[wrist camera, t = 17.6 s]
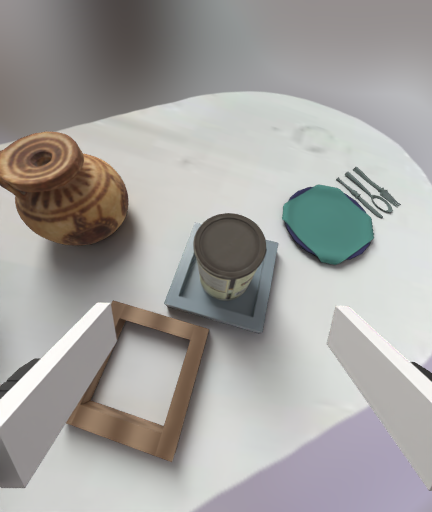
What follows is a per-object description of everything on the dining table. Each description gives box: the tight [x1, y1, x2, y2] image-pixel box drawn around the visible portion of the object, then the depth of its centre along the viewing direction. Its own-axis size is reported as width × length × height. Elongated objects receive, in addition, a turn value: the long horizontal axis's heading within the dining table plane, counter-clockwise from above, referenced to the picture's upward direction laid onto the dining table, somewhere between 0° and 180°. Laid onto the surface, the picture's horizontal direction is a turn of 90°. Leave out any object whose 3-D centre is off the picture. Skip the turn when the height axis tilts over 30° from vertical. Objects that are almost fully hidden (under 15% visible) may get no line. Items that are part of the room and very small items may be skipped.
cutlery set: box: [282, 167, 401, 265], centre depth 49 cm, size 20×30×2 cm, turn 124°
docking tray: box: [164, 222, 278, 333], centre depth 42 cm, size 18×18×3 cm
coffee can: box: [193, 213, 266, 301], centre depth 36 cm, size 10×10×14 cm
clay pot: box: [0, 132, 128, 246], centre depth 40 cm, size 19×19×20 cm
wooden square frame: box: [66, 301, 209, 462], centre depth 34 cm, size 18×18×3 cm
